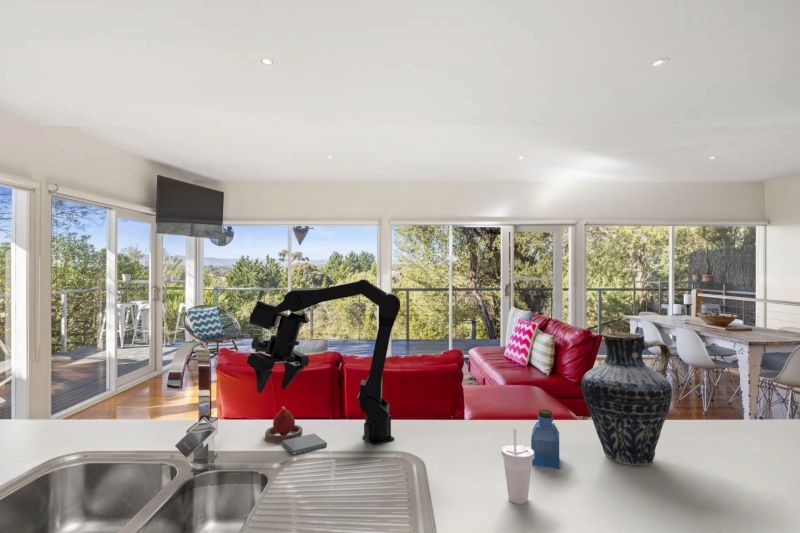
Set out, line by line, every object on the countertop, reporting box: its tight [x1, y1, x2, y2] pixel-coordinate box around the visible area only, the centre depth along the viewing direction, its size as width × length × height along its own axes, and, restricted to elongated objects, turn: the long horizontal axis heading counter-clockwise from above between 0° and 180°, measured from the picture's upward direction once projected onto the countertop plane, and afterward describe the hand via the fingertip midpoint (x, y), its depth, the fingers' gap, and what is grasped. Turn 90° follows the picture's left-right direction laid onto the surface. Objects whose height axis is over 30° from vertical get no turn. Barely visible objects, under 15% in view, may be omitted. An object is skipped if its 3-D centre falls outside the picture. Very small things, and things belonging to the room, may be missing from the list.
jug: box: [581, 331, 673, 466], centre depth 109 cm, size 21×19×30 cm
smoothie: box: [501, 427, 535, 505], centre depth 90 cm, size 6×6×14 cm
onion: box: [272, 406, 296, 436], centre depth 125 cm, size 6×6×8 cm
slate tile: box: [282, 433, 328, 454], centre depth 118 cm, size 9×8×1 cm
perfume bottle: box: [530, 408, 560, 470], centre depth 107 cm, size 6×6×12 cm
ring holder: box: [264, 424, 303, 444], centre depth 125 cm, size 10×10×2 cm
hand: (271, 390), depth 122 cm, fingers open, 9 cm apart
